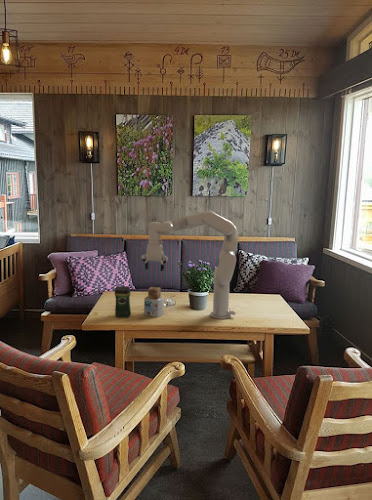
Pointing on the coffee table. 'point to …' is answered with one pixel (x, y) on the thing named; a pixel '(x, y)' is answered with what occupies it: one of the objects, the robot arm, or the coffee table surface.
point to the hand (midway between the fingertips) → (154, 270)
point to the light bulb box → (154, 307)
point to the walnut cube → (154, 293)
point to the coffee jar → (122, 301)
